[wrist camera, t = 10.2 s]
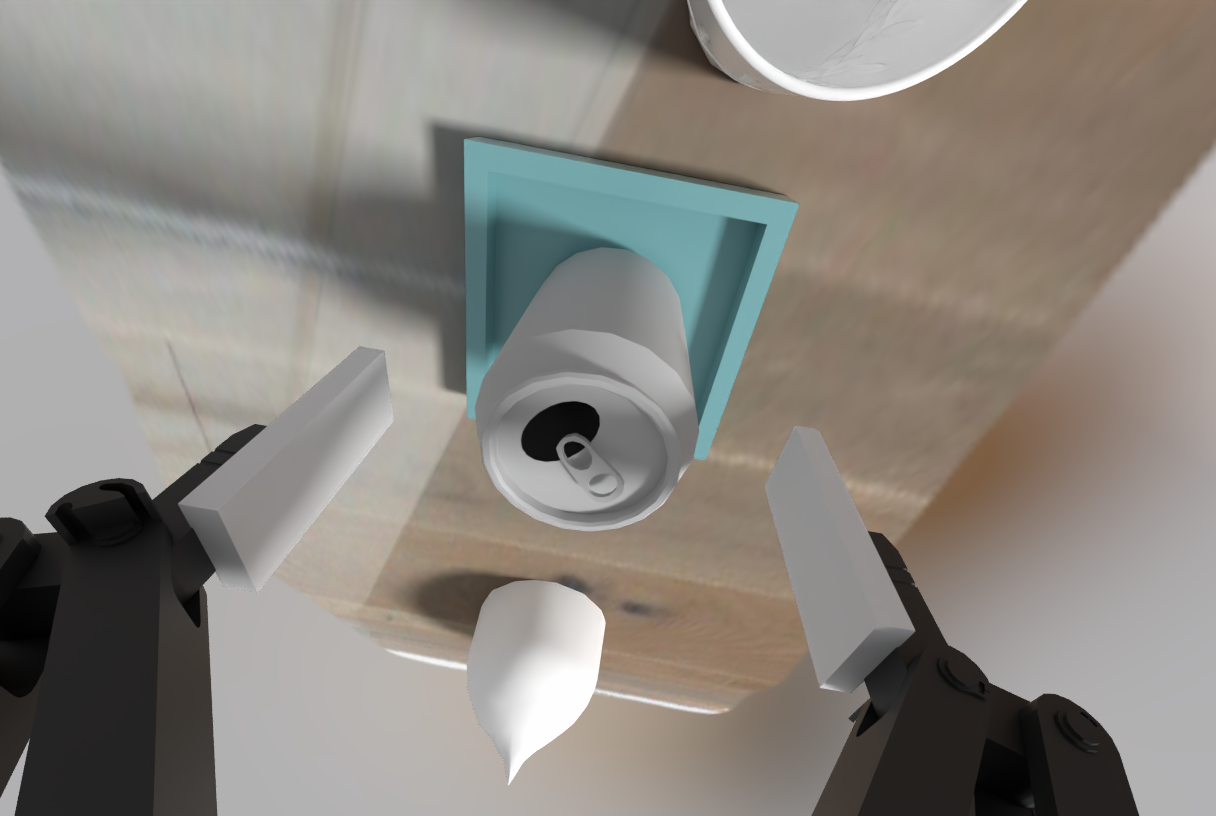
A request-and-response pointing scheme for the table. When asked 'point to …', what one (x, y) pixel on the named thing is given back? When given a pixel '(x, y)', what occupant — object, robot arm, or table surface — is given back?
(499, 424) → the can
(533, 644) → the teardrop
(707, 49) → the white cup
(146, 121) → the table surface
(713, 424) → the tray
